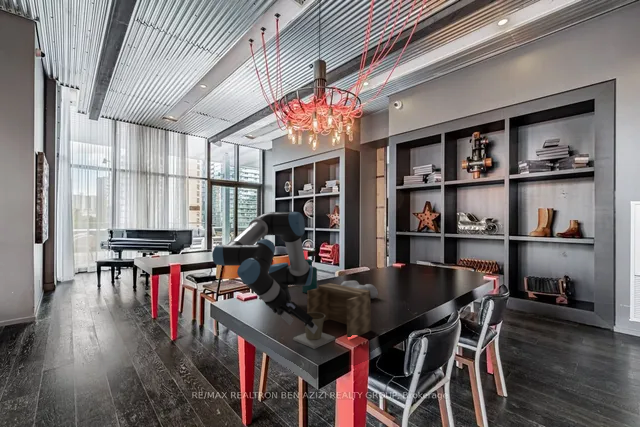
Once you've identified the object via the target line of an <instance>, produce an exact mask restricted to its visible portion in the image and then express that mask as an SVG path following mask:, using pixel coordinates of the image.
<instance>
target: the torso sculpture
mask: <svg viewBox="0 0 640 427" xmlns="http://www.w3.org/2000/svg"><path fill="white" fill-rule="evenodd" d="M340 285H342V286H347V287H353V288H358V289H364V290H369V291H370V299H371V300H372V299H376V298H377V296H378V295H379V294H378V293H379V290H378V289H377V287H375V285H373V284H372V283H371V284H370V283H366V284H360V283H359V282H358V281H357V280H343V281H342V282H341V283H340Z"/></svg>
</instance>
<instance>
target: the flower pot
mask: <svg viewBox="0 0 640 427" xmlns="http://www.w3.org/2000/svg"><path fill="white" fill-rule="evenodd" d="M306 313H307V312H306ZM307 314H309V315H310V316H311V317H313V319H312V321H313V322H314V324H315V325H316V326H317V327H318V328H317V330H316V332H315V334H313V333H312V332H311V331H310V330H309V329H308V328H307V327H306V326H304V331H305V332H304V333H306V337H307V339H311V340H314V339H320V338H321V335H322V332H323V326H324V322H325V321H324V318H325V314H323V313H319V312H309V313H307Z"/></svg>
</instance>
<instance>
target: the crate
mask: <svg viewBox="0 0 640 427" xmlns="http://www.w3.org/2000/svg"><path fill="white" fill-rule="evenodd" d="M306 297H307V298H306V301H307V302H306V303H307V304H306V310H307V312H306V313H309V312H319V313H323V314H325V318H324V321H323V322H326V321H328V320H332V321H334V322H338V323H341V324H344V325H346V338H347V337H351V336H352V335H358V337H360V336H362V335H364V334H366V333H369V332H371V330H372V319H371V318H372V316H371V314H372V311H371V307H372V306H371V298H370V291H369V290H364V289H358V288H353V287H347V286H342V285H341V284H335V283H330V282H329V283H323V284H320V285H317V289H312V290H308V291H307V293H306Z"/></svg>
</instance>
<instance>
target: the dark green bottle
mask: <svg viewBox="0 0 640 427" xmlns="http://www.w3.org/2000/svg"><path fill="white" fill-rule="evenodd" d="M305 261H307V262H308V264H309V265H311V266H313V263H314V260H313V259H312V260H310V259H306V258H305ZM301 288H302V289H301V291H302V293H303V292H304V294H307V291H308V290H312V289H317V288H318V269H317V267H315V266H313V273H312V281H311V284H310V285H308V286H301Z"/></svg>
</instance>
